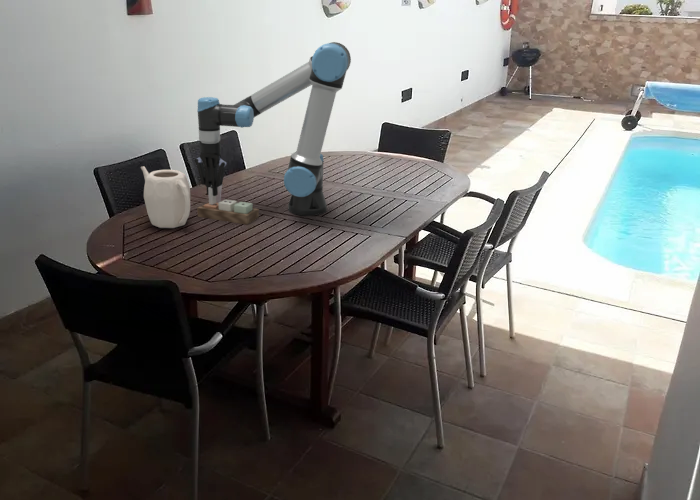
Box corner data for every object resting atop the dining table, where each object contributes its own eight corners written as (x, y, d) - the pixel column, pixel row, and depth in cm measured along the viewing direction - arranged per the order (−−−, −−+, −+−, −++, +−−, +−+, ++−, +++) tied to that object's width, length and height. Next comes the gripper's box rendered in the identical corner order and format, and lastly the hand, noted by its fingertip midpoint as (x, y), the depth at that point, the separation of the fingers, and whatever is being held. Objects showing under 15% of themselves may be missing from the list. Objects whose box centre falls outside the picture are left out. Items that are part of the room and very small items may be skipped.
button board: (258, 217, 229) (258, 208, 228) (247, 224, 221) (246, 215, 220) (210, 210, 236) (210, 201, 234) (197, 216, 228) (197, 207, 227)
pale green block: (252, 212, 227) (252, 203, 226) (246, 216, 223) (245, 206, 221) (240, 210, 229) (240, 201, 227) (234, 214, 224) (233, 204, 223)
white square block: (237, 210, 229) (237, 200, 228) (230, 213, 225) (230, 204, 223) (225, 208, 231) (225, 199, 229) (218, 211, 226) (218, 202, 225)
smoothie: (219, 210, 236) (218, 175, 231) (204, 208, 237) (202, 173, 232) (226, 205, 242) (224, 171, 237) (210, 204, 243) (209, 169, 238)
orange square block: (222, 212, 232) (222, 203, 230) (215, 216, 227) (215, 206, 226) (211, 210, 233) (210, 201, 232) (204, 214, 229) (203, 205, 228)
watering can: (163, 210, 233) (159, 162, 226) (208, 226, 218) (205, 175, 211) (127, 219, 222) (122, 169, 215) (172, 237, 207) (168, 183, 200)
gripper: (231, 141, 222) (233, 203, 230) (200, 137, 226) (203, 198, 234) (220, 145, 215) (222, 208, 224) (188, 141, 219) (192, 203, 228)
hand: (212, 203), depth 229 cm, fingers closed
